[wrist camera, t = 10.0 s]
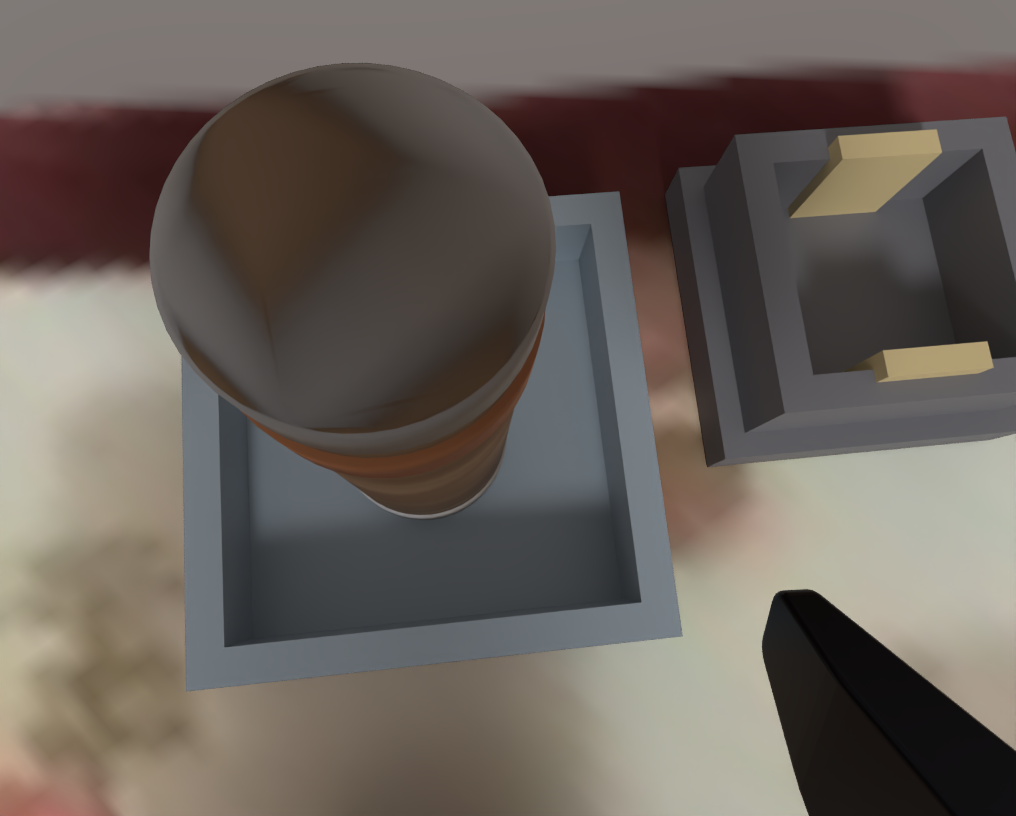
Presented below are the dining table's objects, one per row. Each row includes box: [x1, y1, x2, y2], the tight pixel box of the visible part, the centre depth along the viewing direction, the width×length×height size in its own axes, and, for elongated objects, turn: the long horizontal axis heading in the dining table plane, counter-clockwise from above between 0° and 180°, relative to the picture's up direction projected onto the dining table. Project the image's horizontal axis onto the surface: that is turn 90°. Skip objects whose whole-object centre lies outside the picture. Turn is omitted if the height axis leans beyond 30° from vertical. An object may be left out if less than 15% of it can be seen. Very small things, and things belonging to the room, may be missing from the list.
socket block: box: [665, 117, 1016, 467], centre depth 19 cm, size 8×8×4 cm
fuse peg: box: [149, 63, 556, 520], centre depth 14 cm, size 4×4×12 cm
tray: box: [182, 191, 683, 691], centre depth 19 cm, size 11×11×3 cm
